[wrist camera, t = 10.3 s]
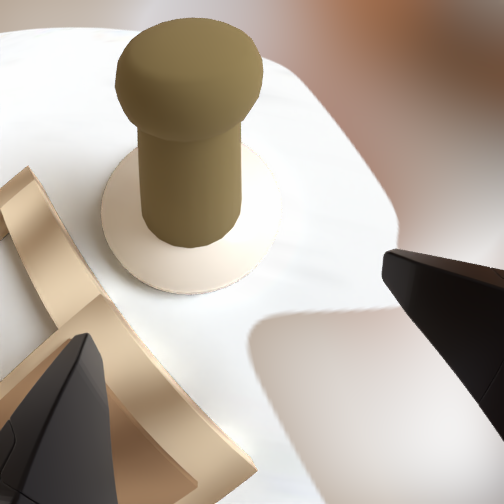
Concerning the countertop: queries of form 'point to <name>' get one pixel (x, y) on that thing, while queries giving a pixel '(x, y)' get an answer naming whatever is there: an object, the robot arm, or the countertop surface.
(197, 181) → the cork
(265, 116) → the countertop surface
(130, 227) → the ceramic pad
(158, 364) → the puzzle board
